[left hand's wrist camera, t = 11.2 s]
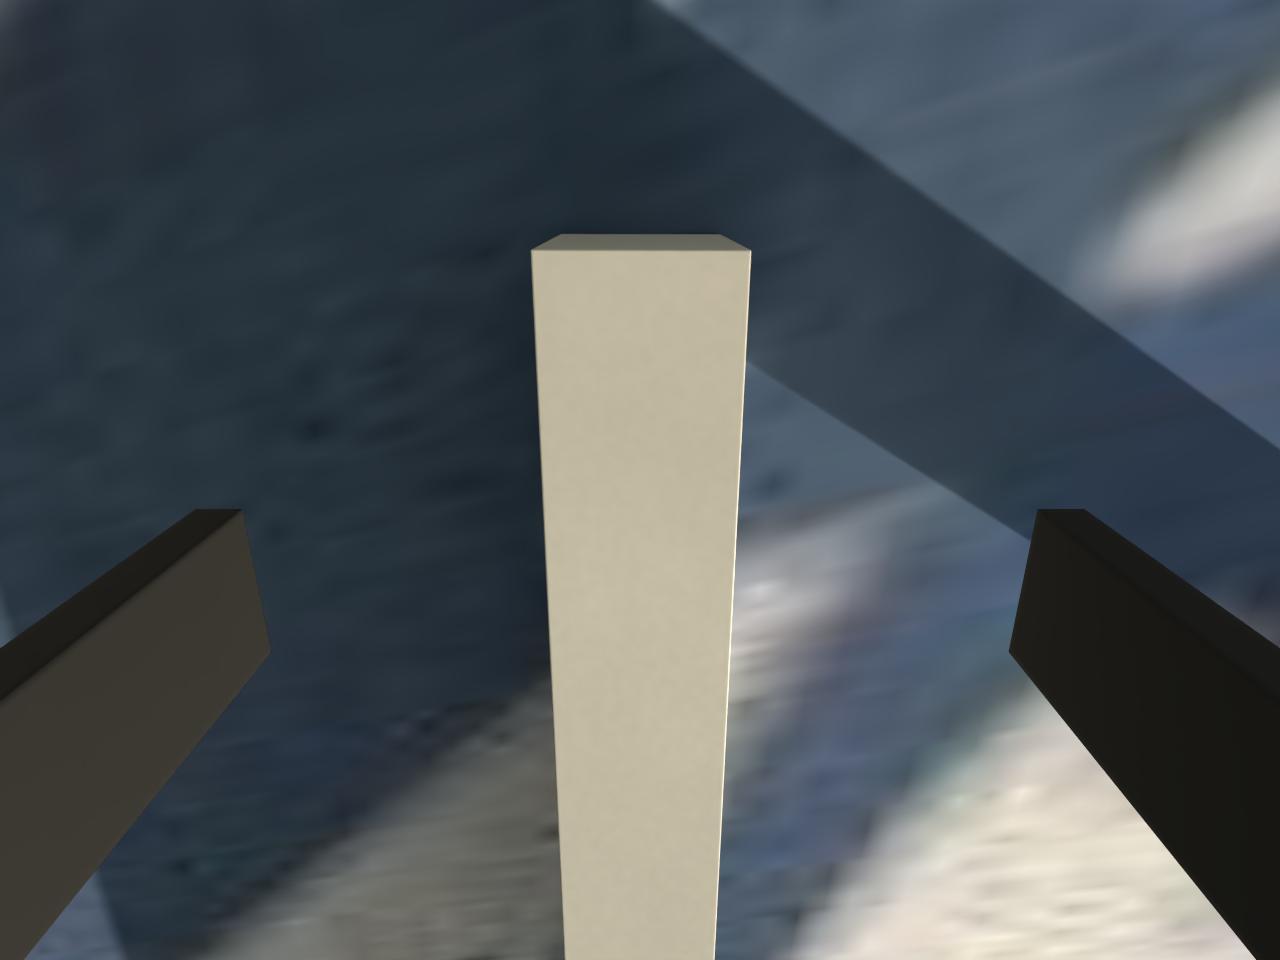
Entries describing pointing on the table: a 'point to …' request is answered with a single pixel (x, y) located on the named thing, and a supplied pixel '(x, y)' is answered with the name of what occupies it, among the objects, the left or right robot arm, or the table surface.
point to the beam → (640, 574)
